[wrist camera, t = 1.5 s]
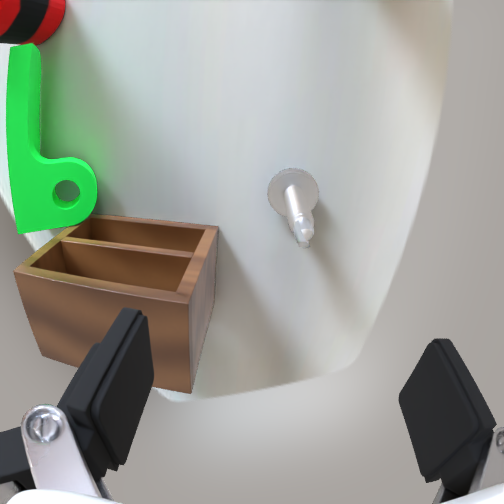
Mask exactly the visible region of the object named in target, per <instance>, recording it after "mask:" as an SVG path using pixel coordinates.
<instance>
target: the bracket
mask: <svg viewBox="0 0 504 504" xmlns="http://www.w3.org/2000/svg"><path fill="white" fill-rule="evenodd" d="M40 84H41V56H40V51H39V49H38V48H37V47H36V46H35V45H34V44H33V43H29V44H24V45H19V46H14V47H10V55H9V64H8V77H7V96H6V135H7V155H8V167H9V178H10V186H11V194H12V201H13V208H14V214H15V220H16V225H17V231H18V234H23V233H29V232H35V231H41V230H47V229H53V228H60V227H67V226H72V225H76V224H78V223H80V222H82V221H83V220H85V219H86V218H87V217H88V216H89V215H90V213H91V212H92V210H93V209H94V206H95V204H96V200H97V180H96V176H95V174H94V172H93V170H92V169H91V167H90V166H89V165H88V164H87V163H85V162H84V161H82V160H80V159H78V158H73V157H66V158H59V159H47V158H44V157H42V156H41V153H40ZM63 180H71V181H73V182H74V183H76V184H77V186H78V187H79V190H80V194H79V196H78V197H77V198H76V199H74V200H73V201H69V202H67V201H63V200H61V199H59V198H58V196H57V195H56V192H55V185H56V184H57V183H59V182H60V181H63Z"/></svg>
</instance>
